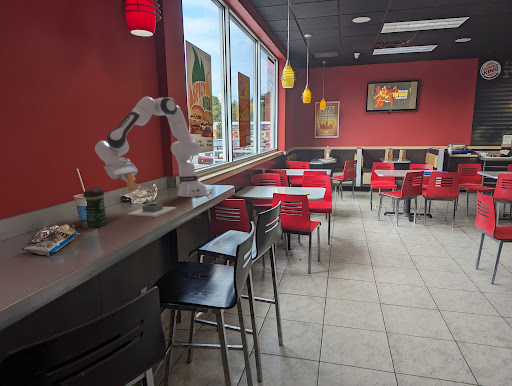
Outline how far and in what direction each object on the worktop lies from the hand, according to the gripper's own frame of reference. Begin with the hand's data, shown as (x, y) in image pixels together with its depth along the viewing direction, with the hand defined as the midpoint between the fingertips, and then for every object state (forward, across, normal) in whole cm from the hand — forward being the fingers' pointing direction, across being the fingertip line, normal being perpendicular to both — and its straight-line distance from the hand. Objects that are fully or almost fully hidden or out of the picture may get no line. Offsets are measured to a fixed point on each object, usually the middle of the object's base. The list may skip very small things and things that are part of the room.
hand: (131, 180), depth 194 cm
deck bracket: (+22, 0, +3) cm, 22 cm away
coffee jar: (+15, -32, +10) cm, 37 cm away
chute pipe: (+3, 0, +4) cm, 5 cm away
